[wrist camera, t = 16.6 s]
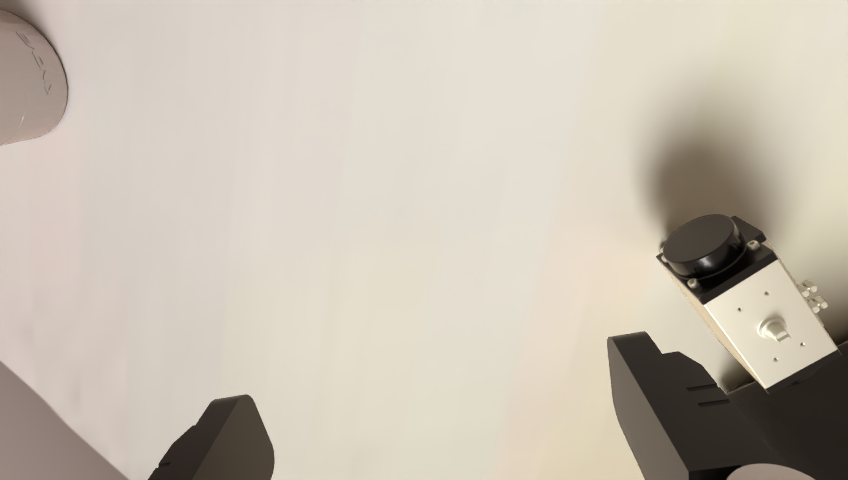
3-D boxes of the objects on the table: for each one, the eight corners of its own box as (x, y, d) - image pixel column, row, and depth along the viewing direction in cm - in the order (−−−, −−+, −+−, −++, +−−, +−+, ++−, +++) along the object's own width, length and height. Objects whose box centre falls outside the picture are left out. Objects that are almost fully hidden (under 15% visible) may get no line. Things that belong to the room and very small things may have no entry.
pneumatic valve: (698, 321, 42) (791, 422, 30) (621, 219, 39) (694, 290, 27) (760, 283, 40) (882, 375, 29) (685, 175, 37) (789, 230, 26)
